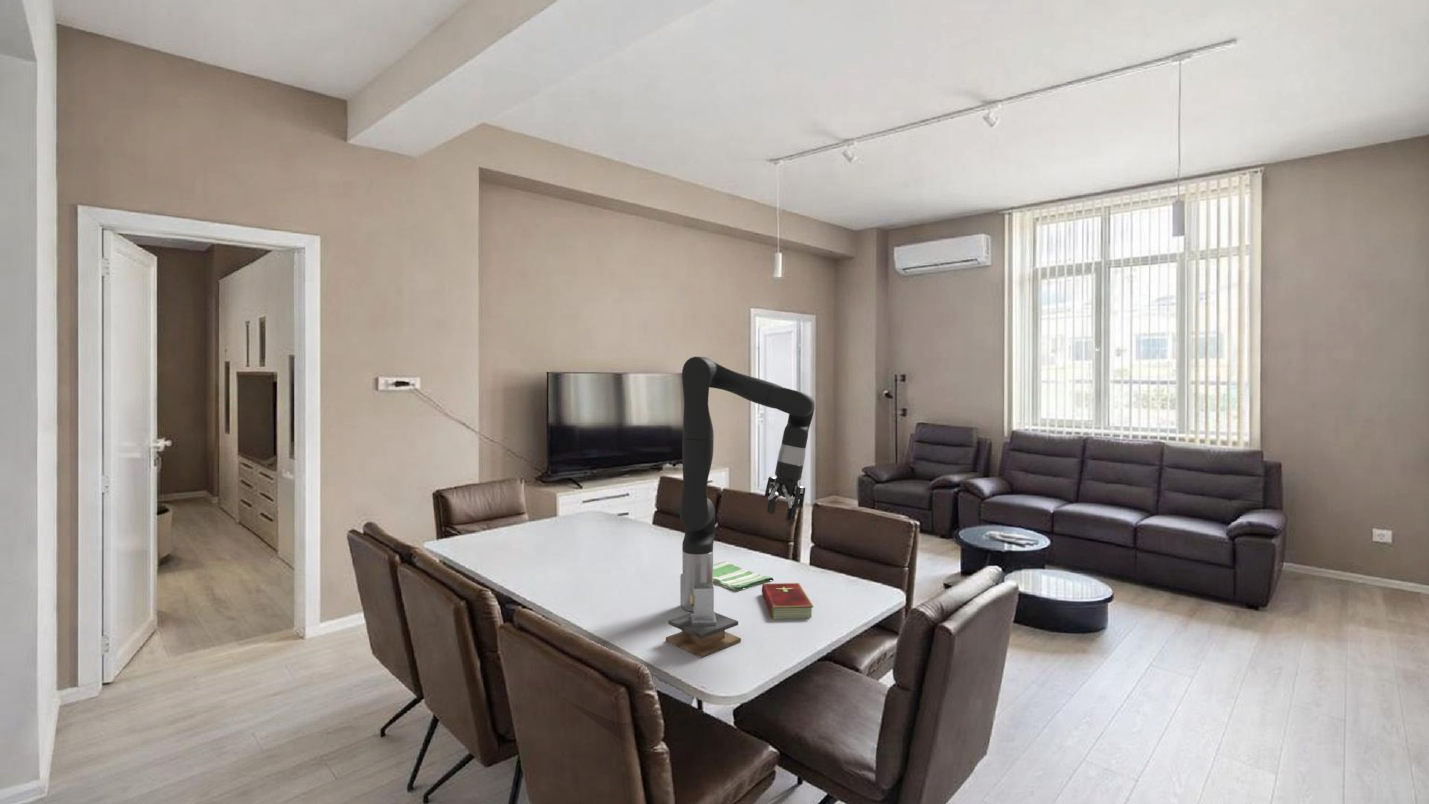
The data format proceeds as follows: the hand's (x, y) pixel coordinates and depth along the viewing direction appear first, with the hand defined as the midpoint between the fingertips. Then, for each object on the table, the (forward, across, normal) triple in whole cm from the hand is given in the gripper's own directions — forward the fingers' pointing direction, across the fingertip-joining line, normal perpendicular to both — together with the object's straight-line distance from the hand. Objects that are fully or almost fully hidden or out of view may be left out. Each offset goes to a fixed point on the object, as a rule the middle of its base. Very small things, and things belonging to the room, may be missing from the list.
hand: (779, 517), depth 188 cm
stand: (+33, +4, -21) cm, 40 cm away
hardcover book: (+29, -5, +14) cm, 32 cm away
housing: (+28, +3, -22) cm, 36 cm away
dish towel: (+31, -36, +15) cm, 50 cm away
